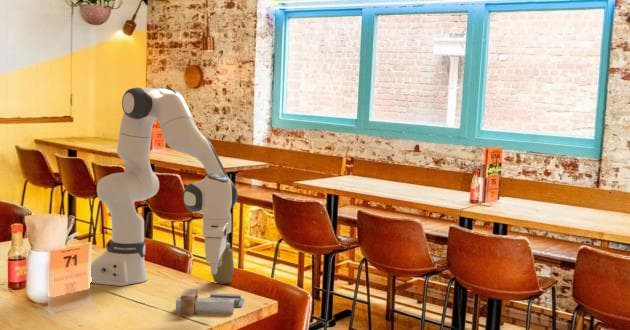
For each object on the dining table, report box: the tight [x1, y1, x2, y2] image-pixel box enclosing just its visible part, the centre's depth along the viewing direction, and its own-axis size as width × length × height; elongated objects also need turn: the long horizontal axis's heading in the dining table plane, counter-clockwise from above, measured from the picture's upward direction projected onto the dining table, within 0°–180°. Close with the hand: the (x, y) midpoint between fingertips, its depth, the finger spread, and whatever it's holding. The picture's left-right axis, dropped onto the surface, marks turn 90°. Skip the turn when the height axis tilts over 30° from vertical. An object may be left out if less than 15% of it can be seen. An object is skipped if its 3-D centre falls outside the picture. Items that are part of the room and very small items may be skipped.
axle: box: [175, 296, 235, 315], centre depth 236 cm, size 18×4×4 cm, turn 92°
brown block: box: [179, 288, 199, 316], centre depth 235 cm, size 4×8×6 cm, turn 0°
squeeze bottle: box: [211, 237, 235, 285], centre depth 269 cm, size 8×8×18 cm
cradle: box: [207, 292, 245, 308], centre depth 245 cm, size 12×8×2 cm, turn 90°
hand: (216, 269), depth 234 cm, fingers open, 8 cm apart
